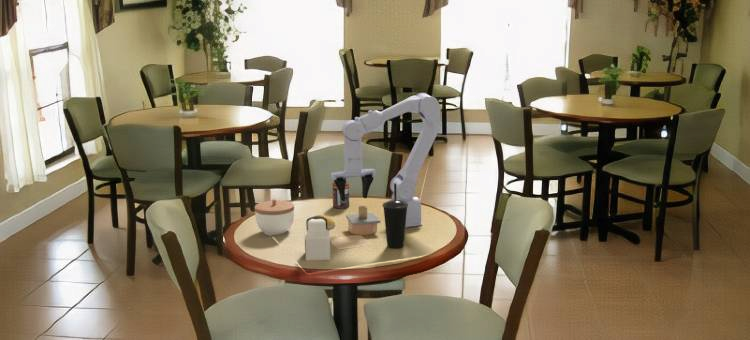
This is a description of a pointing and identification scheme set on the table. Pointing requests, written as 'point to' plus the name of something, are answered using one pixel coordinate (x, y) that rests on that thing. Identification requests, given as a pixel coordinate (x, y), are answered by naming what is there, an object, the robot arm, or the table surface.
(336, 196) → the supplement bottle
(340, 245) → the mat
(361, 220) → the lid
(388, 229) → the drinking cup
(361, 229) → the bowl
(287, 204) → the lidded bowl
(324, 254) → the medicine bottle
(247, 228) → the table surface
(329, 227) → the bread roll
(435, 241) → the table surface
